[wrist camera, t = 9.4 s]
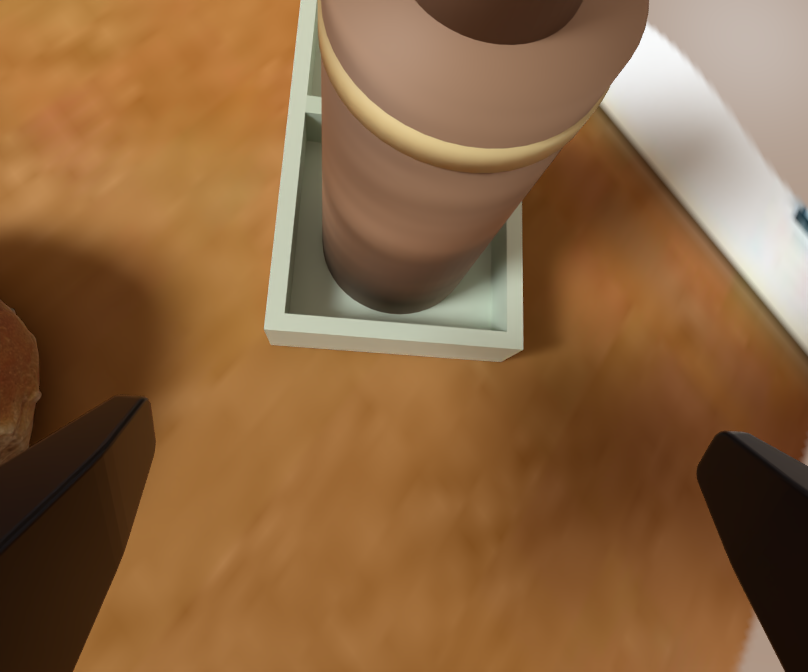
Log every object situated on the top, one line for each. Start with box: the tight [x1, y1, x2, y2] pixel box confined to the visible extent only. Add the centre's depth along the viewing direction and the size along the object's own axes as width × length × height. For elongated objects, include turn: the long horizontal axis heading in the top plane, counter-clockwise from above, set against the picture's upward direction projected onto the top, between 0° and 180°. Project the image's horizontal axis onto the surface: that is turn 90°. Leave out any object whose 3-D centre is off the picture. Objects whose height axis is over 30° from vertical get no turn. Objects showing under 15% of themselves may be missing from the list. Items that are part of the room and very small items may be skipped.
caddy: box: [264, 0, 523, 362], centre depth 17 cm, size 14×7×2 cm, turn 177°
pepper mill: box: [317, 0, 649, 314], centre depth 10 cm, size 5×5×14 cm
